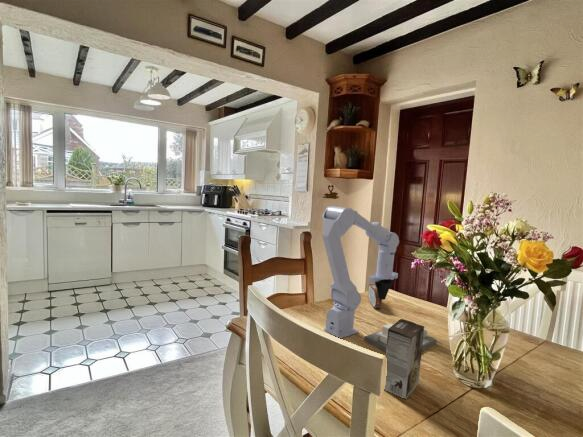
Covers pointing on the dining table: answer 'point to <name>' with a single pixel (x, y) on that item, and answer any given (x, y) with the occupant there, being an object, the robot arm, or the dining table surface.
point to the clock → (374, 296)
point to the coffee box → (403, 357)
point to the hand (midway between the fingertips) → (381, 298)
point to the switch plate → (375, 341)
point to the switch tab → (385, 333)
